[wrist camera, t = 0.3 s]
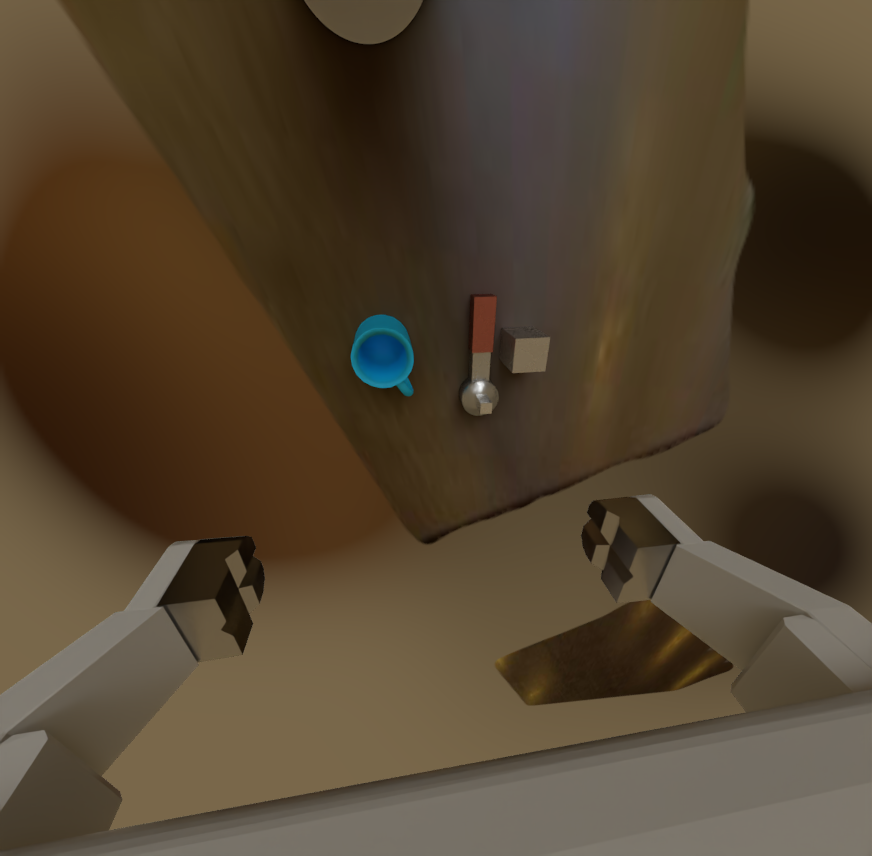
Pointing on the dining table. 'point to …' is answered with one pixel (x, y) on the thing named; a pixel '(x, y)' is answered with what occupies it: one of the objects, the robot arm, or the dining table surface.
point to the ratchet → (480, 357)
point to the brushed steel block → (524, 349)
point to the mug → (383, 353)
